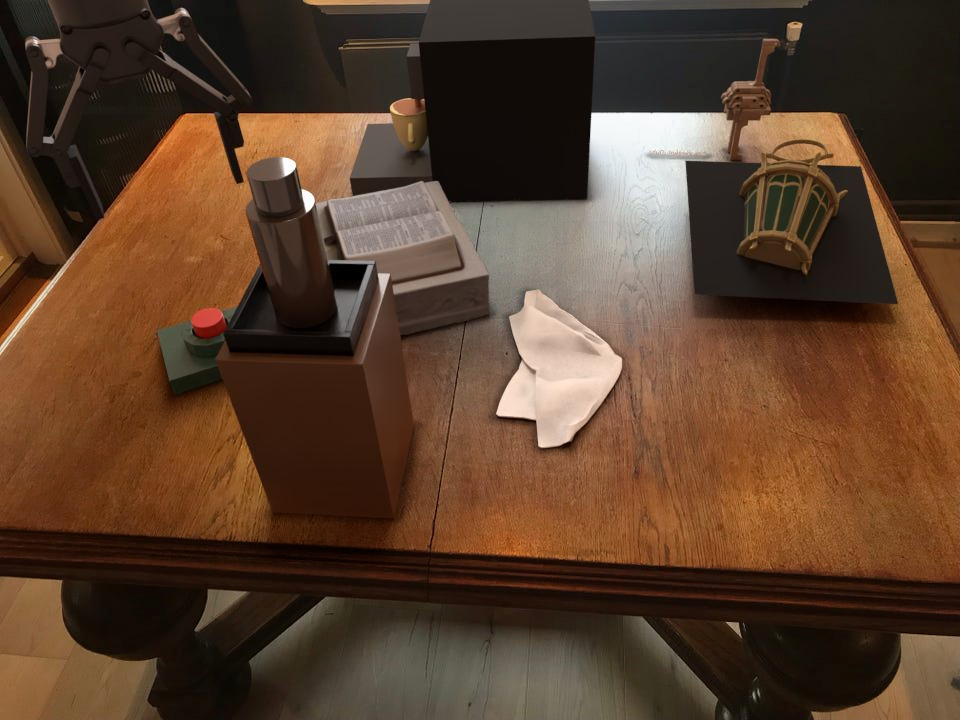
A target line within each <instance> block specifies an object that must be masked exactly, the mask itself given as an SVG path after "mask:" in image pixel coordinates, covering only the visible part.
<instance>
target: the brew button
mask: <svg viewBox="0 0 960 720" xmlns="http://www.w3.org/2000/svg"><path fill="white" fill-rule="evenodd" d="M220 310H221V309H219V308H216V307H208V308H207V307H206V308H203V309H200V310H197V312H196V313H194V314H193V315H192V317H191V318H190V319H191V324H192V326H193V329H194V331H195V334H196V335H197V336H198V337H199V338H202V339H209V338H213V337H216V336H219V335H220V334H221V333H223V332H224V331H225V329H226V322H225V319H224V316H223V313H222V312H221V311H220Z"/></svg>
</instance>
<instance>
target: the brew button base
mask: <svg viewBox="0 0 960 720" xmlns="http://www.w3.org/2000/svg"><path fill="white" fill-rule="evenodd" d="M237 306H238V305H237ZM237 306H236V305H235V306H233V307H229V308H227V309H219V310H220V311H221V312H222V313H223V316H224V319H225V322H226V327H227V325H228V324H229V322H230V320H231V318H232V316H233V314H234V312H235V310H236V308H237ZM156 332H157V337H158V341H159V345H160V349H161V353H162V357H163V361H164V365H165V369H166V373H167V379H168V382H169V384H170V386H171V388H172V390H173V393H174V395H178V394H181V393H185V392H188V391H191V390H193V389H197V388H201V387H203V386H207V385H209V384H211V383H216V382H218V381H221V380H222V381H223V379H222V376H221V374H220V371H219V368H218V366H217V363H216V361H215V359H216V358H217V356H218V354H219V352H220V350H221V348H222V346H223V344H224V342H225V338H224V335H223V333H224V332H223V333H221V334H220V335H219V336H216V337H213V338H209V339H202V338H199V337H198V336H197V335H196V334H195V331H194V329H193V326H192V324H191V318H190V319H188V320H187V321H183V322H180V323H177V324H173V325H170V326H167V327H163V328H160V329H157V330H156Z"/></svg>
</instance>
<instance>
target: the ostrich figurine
mask: <svg viewBox="0 0 960 720" xmlns="http://www.w3.org/2000/svg"><path fill="white" fill-rule="evenodd" d="M761 42H762V43H761V50H760V55H759V61H758V64H757V69H756V74H755V79H754V80H747V81H746V80H744V81H743V80H741V81H733V82H732V83H731V84H730V86H729V87H728V88H727V89H726V91H725V92H723V93H722V94H721V96H720V99H721V100H722V101H721V102H722V105H724V109H723V113H724V114H726V115H725V116H726V117H725V119H726V121H732V123H731V128H730V133H729V140H728V145H727V153H729V160H730V161H741V160H742V156H743V155H742V153H741V152H740V146H739V144H740V143H739V142H740V139H741V138H740V137H741V133H742V129H743V128H744V127H747V126H749V121H751V122H753V121H754V122H755V121H756V122H757V121H761V120H762V119H761V118H762V116H771V113H772V108H771V106H770V105H771V104H772V101H771V99H772V93H771V91H770V89H768V88H766V87H765V83H764V82H763V79H764V74H765V68H766V64H767V59H768V55H770V54H771V53H774V52H775V48H776V47H781V42H780V40H779V39H778V38H763V39H762V41H761ZM707 152H708V150H703V151H698V149H696V151H693V152H692V154H691V150H687V151H685V150H684V151H682V150H679V149H677V150H676V151H675V150H674V151H673V150H669V151H665V149H660V150H658V151H657V150H656V149H654V150H649V153H650V155H652V156H653V155H654V156H655V155H662V156H664V155H665V154H667V155H668V156H669V155H670V156H672V155H673V156H675V155H677V156H680V154H681V156H686V155H687V156H690V155H691V156H708V153H707Z"/></svg>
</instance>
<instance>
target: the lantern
mask: <svg viewBox="0 0 960 720" xmlns="http://www.w3.org/2000/svg"><path fill="white" fill-rule="evenodd" d="M793 145H794V146H795V145H812V146H815V147H818V148H821V149H822V150H823V152H824V154H822V153H821V151H818V152H816V153H815V156H814V157H812V158H807V159H806V158H805V159H801V160H800V159H799V158H796V159H789V158H785V157H780V156H777V155H775V154H776V152H777V151H779V150H781V149H783V148H785V147H789V146H793ZM834 157H835V154H834V153H832V152H831V153H829V152H828V150H827V148H826V146H825V145H824V144H823V143H821V142H820V141H817V140H814V139H813V140H812V139H802V138H801V139H800V138H799V139H792V140H788V141H785V142H782V143H780V144H778V145H777V146H776V147H775V148H774V149H773V150H772V152H771V153H767V152H764V151H761V154H760V161H761V162H744V161H743V162H741V161H711V160H710V161H709V160H684V162H685V163H684V164H685V175H686V176H685V177H686V191H687V205H688V207H687V208H688V218H689V219H688V220H689V233H690V234H689V235H690V245H691V246H690V248H691V250H690V251H691V265H692V277H693V291H694V295H703V296H721V297H722V296H723V297H741V298H743V297H745V298H759V299H760V298H762V299H764V298H765V299H781V300H782V299H783V300H799V301H800V300H801V301H821V302H822V301H823V302H839V303H840V302H843V303H861V304H883V305H899V302H898V301H899V300H898V298H897V294H896V291H895V286H894V282H893V280H892V275H891V272H890V268H889V265H888V261H887V258H886V254H885V250H884V246H883V243H882V239H881V235H880V230H879V228H878V224H877V219H876V216H875V213H874V209H873V205H872V202H871V198H870V194H869V191H868V188H867V183H866V180H865V176H864V173H863V168H862V166H861V165H833V164H832V165H831V164H829V165H828V164H819V162H820V161H824V160H826V159H833V158H834ZM768 159H772V160H775V161H773V162H768Z"/></svg>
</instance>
